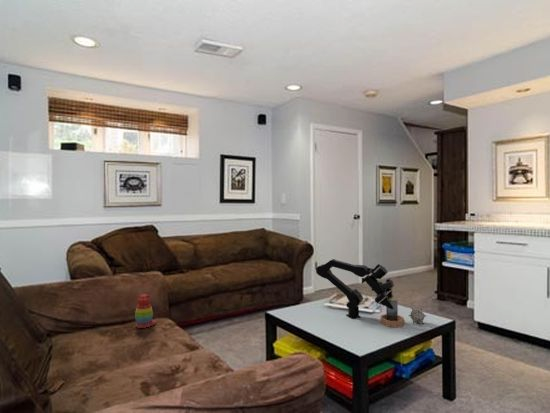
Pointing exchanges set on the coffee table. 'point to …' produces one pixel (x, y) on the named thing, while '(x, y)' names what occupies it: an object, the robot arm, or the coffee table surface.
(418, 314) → the grey spiky ball
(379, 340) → the coffee table surface
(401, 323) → the bowl
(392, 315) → the canister
